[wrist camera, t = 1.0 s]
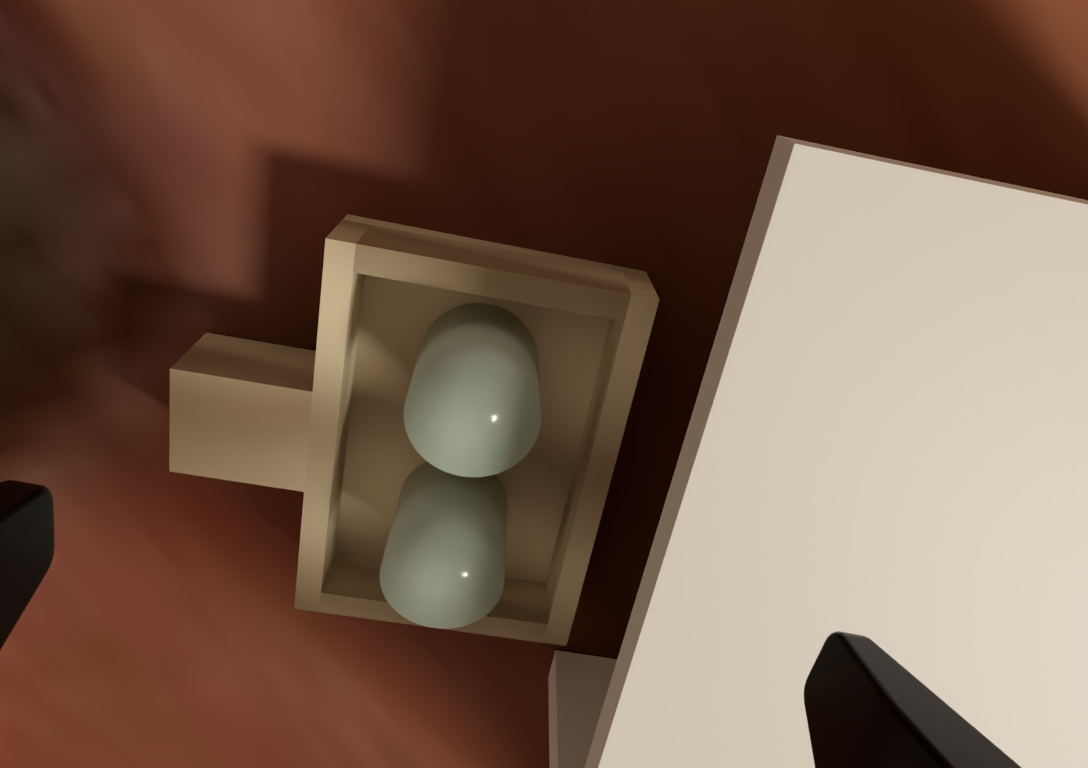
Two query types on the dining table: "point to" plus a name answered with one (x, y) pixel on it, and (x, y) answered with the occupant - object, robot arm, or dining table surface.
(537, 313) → the beige flat piece
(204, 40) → the dining table surface
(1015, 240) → the cream flanged slab
